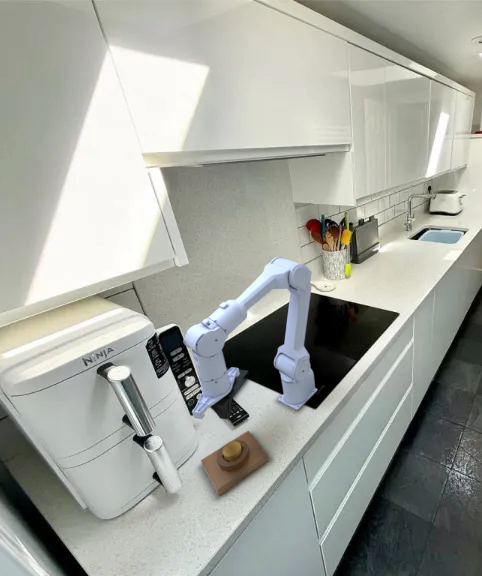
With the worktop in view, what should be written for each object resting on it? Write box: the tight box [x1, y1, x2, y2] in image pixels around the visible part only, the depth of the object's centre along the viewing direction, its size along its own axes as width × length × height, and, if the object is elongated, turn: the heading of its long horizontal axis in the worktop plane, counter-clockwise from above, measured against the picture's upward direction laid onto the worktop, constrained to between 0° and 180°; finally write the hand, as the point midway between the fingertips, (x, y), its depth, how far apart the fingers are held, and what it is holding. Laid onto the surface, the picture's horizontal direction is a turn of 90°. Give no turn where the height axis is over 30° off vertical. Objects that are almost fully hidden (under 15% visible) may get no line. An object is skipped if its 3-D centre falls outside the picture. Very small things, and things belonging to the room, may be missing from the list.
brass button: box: [223, 441, 242, 461], centre depth 73 cm, size 4×4×2 cm
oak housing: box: [200, 430, 269, 497], centre depth 75 cm, size 12×10×4 cm
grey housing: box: [226, 367, 250, 398], centre depth 98 cm, size 12×10×4 cm
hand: (225, 416), depth 75 cm, fingers closed
